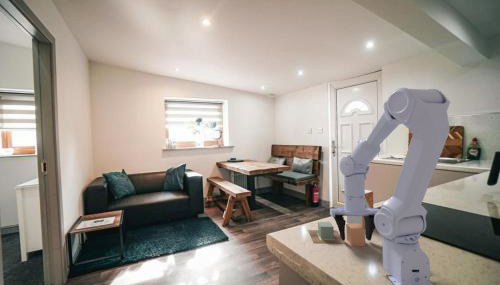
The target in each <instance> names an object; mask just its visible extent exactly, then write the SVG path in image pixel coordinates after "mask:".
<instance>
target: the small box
mask: <svg viewBox="0 0 500 285" xmlns="http://www.w3.org/2000/svg"><path fill="white" fill-rule="evenodd" d="M365 208H374V191H373V190H368V189H365ZM346 224H360V225H361V226H362V227H363V228H365V220H364V216H346Z"/></svg>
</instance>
